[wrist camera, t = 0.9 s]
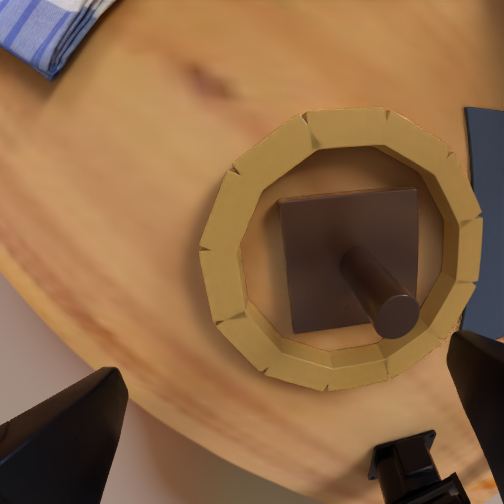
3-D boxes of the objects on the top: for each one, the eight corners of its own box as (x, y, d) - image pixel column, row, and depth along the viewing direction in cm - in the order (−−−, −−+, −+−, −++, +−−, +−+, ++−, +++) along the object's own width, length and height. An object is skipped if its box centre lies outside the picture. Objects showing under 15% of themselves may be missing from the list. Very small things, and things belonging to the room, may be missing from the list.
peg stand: (408, 306, 19) (460, 372, 12) (292, 324, 20) (303, 407, 13) (409, 185, 17) (484, 207, 10) (277, 199, 17) (286, 229, 10)
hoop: (451, 346, 20) (463, 360, 18) (234, 383, 21) (232, 401, 20) (459, 113, 15) (477, 111, 13) (186, 132, 17) (177, 130, 15)
